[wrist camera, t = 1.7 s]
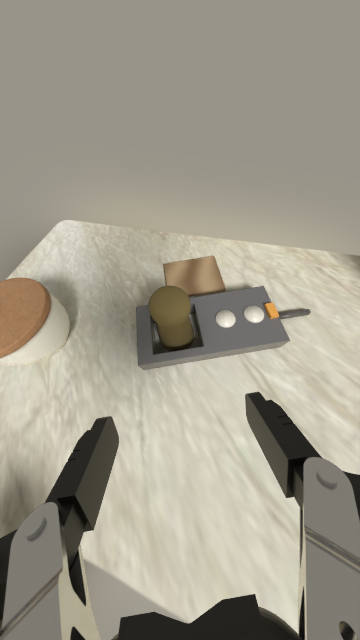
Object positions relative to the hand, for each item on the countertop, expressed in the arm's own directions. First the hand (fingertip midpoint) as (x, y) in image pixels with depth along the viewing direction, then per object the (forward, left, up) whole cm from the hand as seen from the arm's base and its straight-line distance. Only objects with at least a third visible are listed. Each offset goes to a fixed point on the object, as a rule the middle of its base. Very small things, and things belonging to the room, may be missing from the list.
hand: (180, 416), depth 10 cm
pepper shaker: (0, -12, -15) cm, 19 cm away
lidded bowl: (+23, -15, -15) cm, 32 cm away
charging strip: (-9, -12, -15) cm, 21 cm away
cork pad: (-5, -24, -15) cm, 29 cm away
